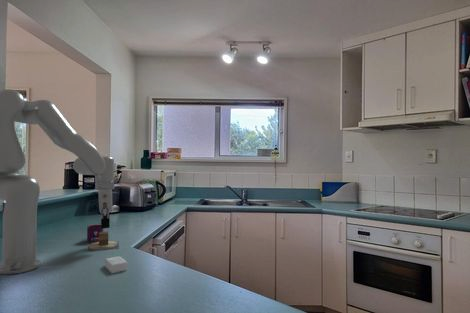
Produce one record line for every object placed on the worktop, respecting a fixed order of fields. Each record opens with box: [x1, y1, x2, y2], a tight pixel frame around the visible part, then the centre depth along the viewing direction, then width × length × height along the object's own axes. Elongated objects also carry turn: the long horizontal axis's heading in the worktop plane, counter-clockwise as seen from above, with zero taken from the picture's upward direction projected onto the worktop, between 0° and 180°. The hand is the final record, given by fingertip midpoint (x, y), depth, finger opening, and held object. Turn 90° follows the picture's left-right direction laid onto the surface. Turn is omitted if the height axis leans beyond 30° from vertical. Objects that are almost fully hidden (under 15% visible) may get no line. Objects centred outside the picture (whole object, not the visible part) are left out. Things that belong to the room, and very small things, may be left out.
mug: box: [86, 224, 104, 243], centre depth 144 cm, size 7×10×7 cm
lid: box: [88, 230, 118, 251], centre depth 133 cm, size 11×11×6 cm
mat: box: [86, 241, 120, 253], centre depth 132 cm, size 12×12×1 cm
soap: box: [104, 255, 129, 274], centre depth 107 cm, size 9×6×3 cm, turn 37°
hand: (105, 225), depth 133 cm, fingers open, 9 cm apart
